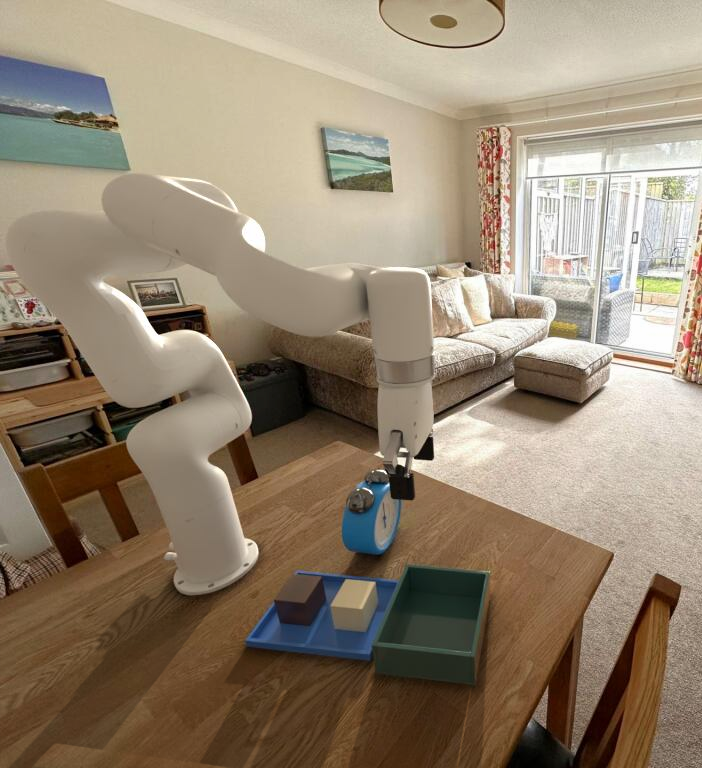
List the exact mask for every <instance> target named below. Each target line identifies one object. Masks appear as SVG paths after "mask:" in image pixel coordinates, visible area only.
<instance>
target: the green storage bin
mask: <svg viewBox="0 0 702 768" xmlns="http://www.w3.org/2000/svg"><path fill="white" fill-rule="evenodd" d="M398 581H399V583H398V585H397V587H396V590H395V592H394V594H393V597H392V599H391V601H390V604H389V606H388V608H387V611H386V613H385V615H384V618H383V620H382V622H381V625H380V627H379V629H378V632H377V634H376V636H375V639H374V641H373V643H372V652H373V656H372V658H373V666H374V671H375V674H381V675H388V676H395V677H405V678H413V679H421V680H430V681H439V682H447V683H456V684H463V685H464V684H465V685H470V687H473V688H474V687H476V684H477V677H478V673H479V666H480V660H481V654H482V648H483V643H484V637H485V629H486V623H487V618H488V613H489V607H490V602H491V601H490V599H491V571H485V570H474V569H464V568H454V567H442V566H431V565H421V564H410V563H406V564H405V567H404V569H403V571H402V573H401V576H400V578H399V580H398Z"/></svg>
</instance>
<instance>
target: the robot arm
mask: <svg viewBox="0 0 702 768" xmlns="http://www.w3.org/2000/svg"><path fill="white" fill-rule="evenodd" d="M100 201H101V207H102V210H101V209H100V210H97V209H49V210H48V209H47V210H41V211H35V212H31V213H27V214H24V215H22V216H20V217H18V218H16V219H15V220H14V221H13V222H12V223H11V224H10V225H9V227H8V228H7V231H6V236H5V246H6V252H7V257H8V259H9V262H10V264H11V266H12V268H13V270H14V271H15V273H16V275H17V276H18V278H19V279H20V281H21V282H22V284H23V285H24V286H25V287H26V289H28V291H29V292H30V293H31V294H32V295H33V296H34V297H35V298H36V299H37V300H38V301H39V302H40V303H41V304H42V305H43V306H44V307H45V308H46V309H48V310H49V312H50V313H51V314H52V315H53V316H54V317H55V318H56V319H57V321H59V322H60V323H61V325H62V326H63V327H64V329H65V330H66V332H67V333H68V335H69V337H70V338H71V340H72V342H73V343H74V345H75V347H76V348H77V349H78V351H79V352H80V354H81V356H82V358H83V359H84V360H85V361H86V364H87V365H88V366H89V368H90V370H91V371H92V373H93V374H94V377H95V378H96V379H97V380H98V382H99V384H100V385H101V387H102V388H103V390H104V391H105V392H106V393H107V395H108V396H109V397H110V399H112V400H113V401H114V402H116V404H118V405H120V406H122V407H125V408H128V409H138V408H145V407H148V406H151V405H154V404H157V403H160V402H162V401H164V400H167V399H169V398H172V397H174V396H177V395H179V394H182V393H184V392H188V393H189V395H190V396H191V397H190V398H187V399H185V400H183V401H180V402H178V403H175V404H172V405H170V406H168V407H166V408H164V409H161V410H159V411H157V412H155V413H153V414H150V415H149V416H147V417H145V418H144V419H142V420H140V421H139V422H138V423H136V424H135V426H133V427H132V429H130V431H129V433H128V434H127V437H126V441H125V445H126V450H127V452H128V454H129V456H130V458H131V459H132V461H133V462H134V464H135V465H136V466H137V467H138V469H139V470H140V471H141V473H142V475H143V476H144V477H145V480H146V481H147V483H148V485H149V487H150V488H151V491H152V494H153V495H154V498H155V500H156V503H157V506H158V508H159V511H160V513H161V516H162V519H163V522H164V525H165V527H166V531H167V532H168V535H169V538H170V543H169V545H168V551H167V552H166V553H165V554H164V556H163V560H164V561H168V562H175V564H176V567H177V568H176V570H175V572H174V574H173V584H174V588H175V589H176V590H177V591H178V592H179V593H180V594H183V595H184V596H185V595H186V596H199V595H200V596H201V595H205V594H210V593H213V592H217V591H219V590H222V589H225V588H227V587H228V586H231V585H232V584H234V583H235V582H237V581H238V580H240V579H241V578H242V577H244V576H245V575H246V574H247V573H249V572H250V571H251V569H252V568H253V567H254V566H255V565H256V563H257V561H258V559H259V554H260V552H259V548H258V545H257V543H256V542H255V541H254V540H252V539H250V538H246V537H245V536H244V533H243V532H244V531H243V528H242V525H241V521H240V518H239V514H238V510H237V507H236V504H235V499H234V497H233V493H232V489H231V486H230V483H229V479H228V476H227V475H226V472H224V471H223V470H222V469H221V468H219V467H218V466H216V465H214V464H212V463H210V462H209V457H210V456H211V455H212V454H214V453H215V452H216V451H218V450H220V449H221V448H222V447H225V446H226V445H227V444H229V443H231V442H232V441H234V440H235V439H237V438H239V437H240V436H242V435H243V434H245V432H246V431H247V430H248V429H249V428H250V426H251V424H252V419H253V414H252V410H251V407H250V404H249V401H248V400H247V397H246V396H245V394H244V392H243V390H242V388H241V386H240V384H239V382H238V380H237V378H236V377H235V375H234V372H233V370H232V368H231V367H230V365H229V363H228V361H227V359H226V358H225V356H224V354H223V352H222V351H221V349H220V348H219V346H218V345H216V342H215V343H214V342H213V340H211V338H209V337H208V336H206V335H205V334H203V333H201V332H198V331H195V330H191V329H178V330H172V331H169V332H165V333H161V334H158V333H157V332H156V331H155V329H154V327H153V326H152V325H151V323H150V322H149V319H148V318H147V316H146V314H145V312H144V311H143V309H142V308H141V307H140V306H139V304H137V303H136V302H135V301H134V300H133V299H132V298H130V297H129V296H127V294H125V293H123V292H122V291H120V290H118V289H117V288H116V287H113V286H111V285H109V284H108V283H105V281H104V279H106V278H113V277H123V276H135V275H141V274H142V275H143V274H152V273H161V272H168V271H171V270H174V269H178V268H180V267H183V266H185V265H187V264H188V265H189V266H192V267H194V268H196V269H199V270H201V271H203V272H205V273H208V274H210V275H212V276H214V277H216V279H217V282H218V284H219V285H220V287H221V288H222V290H223V291H224V292H225V294H226V295H227V296H228V297H229V299H230V300H232V302H233V303H234V304H235V306H237V307H239V308H240V309H241V310H242V311H243V312H244V313H247V314H248V315H251V316H252V317H254V318H257V319H259V320H261V321H263V322H265V323H267V324H269V325H272V326H275V327H277V328H279V329H281V330H284V331H286V332H289V333H292V334H295V335H298V336H303V337H308V338H323V337H327V336H330V335H333V334H335V333H337V332H339V331H341V330H344V329H346V328H348V327H352V326H354V325H357V324H360V323H363V322H366V321H369V324H370V325H369V326H370V334H371V335H370V336H371V342H372V343H371V344H372V353H373V361H374V370H375V380H376V382H377V383H378V384H379V385H378V389H377V404H376V405H377V432H378V446H379V447H378V448H379V453H380V455H381V456H382V457H383V458H382V465H383V468H384V470H385V471H386V474H387V476H388V477H389V482H388V483H389V485H390V494H391V498H392V499H397V500H401V501H412V502H413V501H414V500H415V499H416V488H415V476H414V473H413V472H412V466H413V460H415V461H427V462H428V461H429V462H430V461H434V460H435V445H434V444H435V443H434V436H433V435H434V428H433V426H434V419H435V417H434V415H435V413H434V412H435V411H434V397H433V389H432V388H433V387H432V381H434V379H435V378H436V362H435V360H436V359H435V342H434V324H433V322H434V321H433V320H434V319H433V302H432V286H431V279H430V277H429V275H428V273H427V272H426V271H424V270H423V269H419V268H415V267H406V266H405V267H404V266H402V267H401V266H400V267H399V266H395V267H379V266H373V265H368V264H364V263H358V262H343V263H342V262H341V263H336V264H326V265H320V266H314V267H308V268H303V267H300V266H297V265H294V264H292V263H289V262H287V261H284V260H283V259H279V258H277V257H275V256H272V255H271V254H269V253H267V252H266V238H265V234H264V231H263V230H262V227H261V225H260V224H259V223H258V222H257V221H256V220H254V219H253V218H252V216H249V215H247V214H244V213H242V212H240V211H238V208H237V207H236V205H235V203H234V201H233V200H232V199H231V197H230V196H229V195H228V194H227V193H226V192H225V191H224V190H223V189H221V188H219V187H218V186H216V185H214V184H212V183H210V182H209V181H208V182H207V181H204V180H202V179H196V178H187V177H179V176H172V175H171V176H170V175H162V174H155V173H144V172H136V173H135V172H134V173H127V174H123V175H120V176H117V177H116V178H113V179H112V180H111V181H110V182H108V183H107V184H106V186H105V187H104V188H103V191H102V194H101V200H100ZM401 449H406V451H400V450H401ZM398 458H402V459H403V458H405V462H404V466H403V465H402V464H399V460H398Z"/></svg>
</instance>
